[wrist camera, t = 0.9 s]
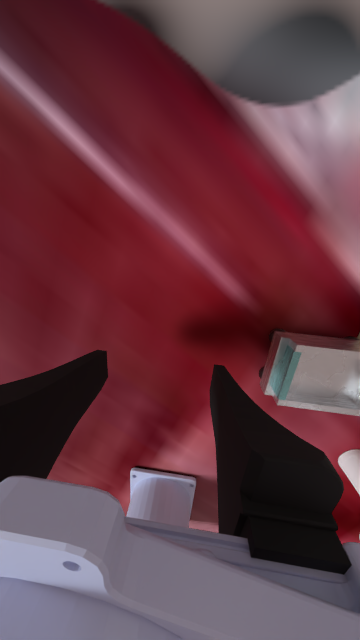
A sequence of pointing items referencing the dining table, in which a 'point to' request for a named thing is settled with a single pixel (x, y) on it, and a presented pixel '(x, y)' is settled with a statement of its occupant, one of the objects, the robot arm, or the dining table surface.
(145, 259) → the dining table surface
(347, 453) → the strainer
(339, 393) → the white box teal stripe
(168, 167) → the dining table surface
